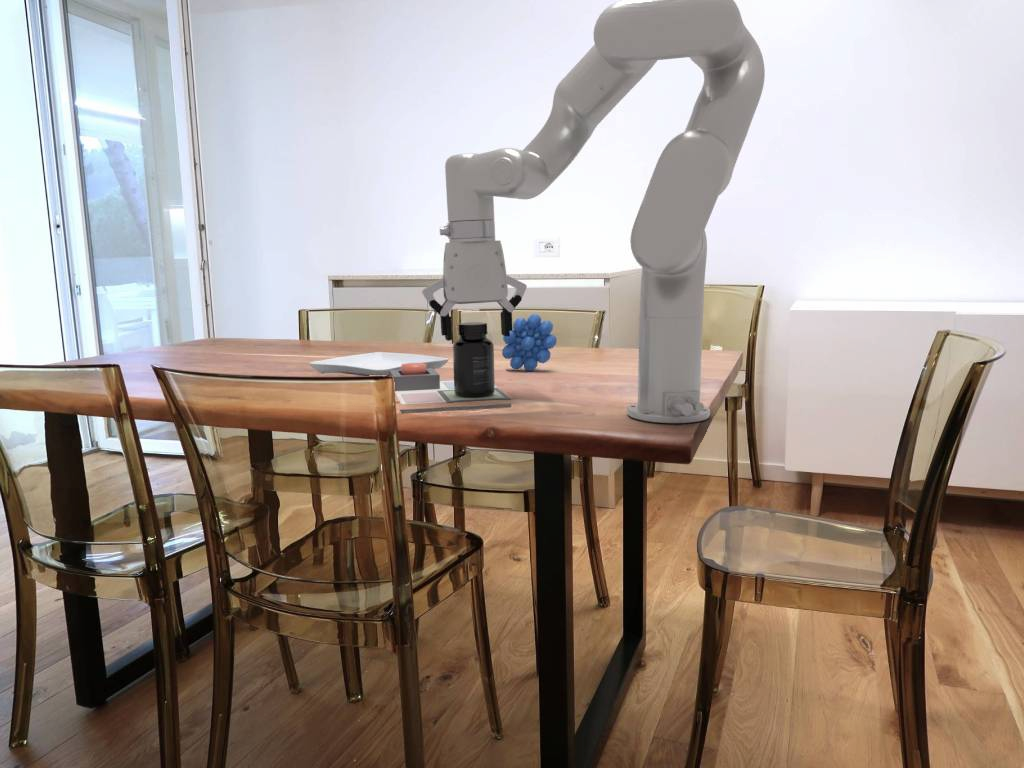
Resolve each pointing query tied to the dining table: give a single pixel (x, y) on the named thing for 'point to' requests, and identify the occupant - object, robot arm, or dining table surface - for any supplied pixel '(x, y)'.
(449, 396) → the printed board
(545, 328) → the grapes
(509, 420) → the dining table surface
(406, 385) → the button housing
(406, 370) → the button
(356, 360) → the salad plate
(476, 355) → the supplement bottle
